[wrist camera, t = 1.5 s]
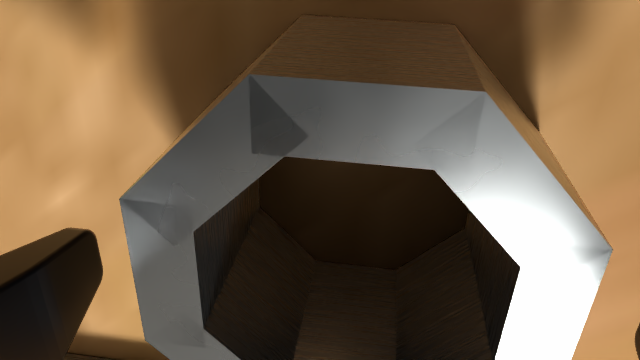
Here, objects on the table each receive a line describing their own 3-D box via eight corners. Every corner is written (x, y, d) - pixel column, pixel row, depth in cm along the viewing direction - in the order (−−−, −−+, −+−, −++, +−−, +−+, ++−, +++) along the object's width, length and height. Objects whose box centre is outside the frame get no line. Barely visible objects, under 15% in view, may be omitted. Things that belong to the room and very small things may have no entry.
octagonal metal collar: (567, 31, 9) (667, 104, 6) (492, 315, 13) (528, 471, 9) (200, 8, 10) (94, 62, 7) (221, 283, 13) (158, 416, 10)
